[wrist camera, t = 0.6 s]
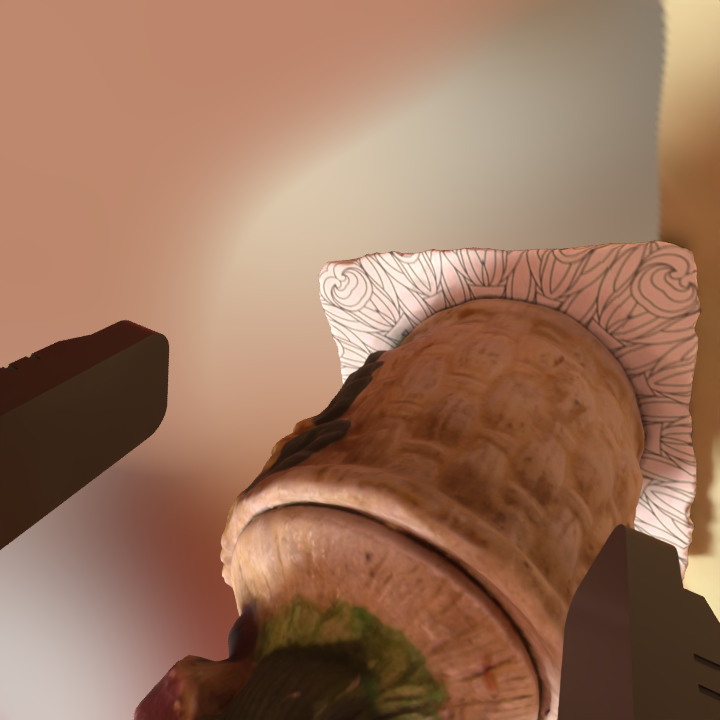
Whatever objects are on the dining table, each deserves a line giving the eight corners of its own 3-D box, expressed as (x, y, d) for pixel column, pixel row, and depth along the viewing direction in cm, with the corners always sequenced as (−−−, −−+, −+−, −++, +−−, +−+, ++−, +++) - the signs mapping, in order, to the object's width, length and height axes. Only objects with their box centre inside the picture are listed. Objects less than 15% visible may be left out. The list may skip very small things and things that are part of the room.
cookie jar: (707, 224, 29) (659, 1203, 5) (693, 566, 40) (654, 1413, 16) (320, 253, 42) (-195, 582, 18) (386, 505, 52) (112, 922, 29)
